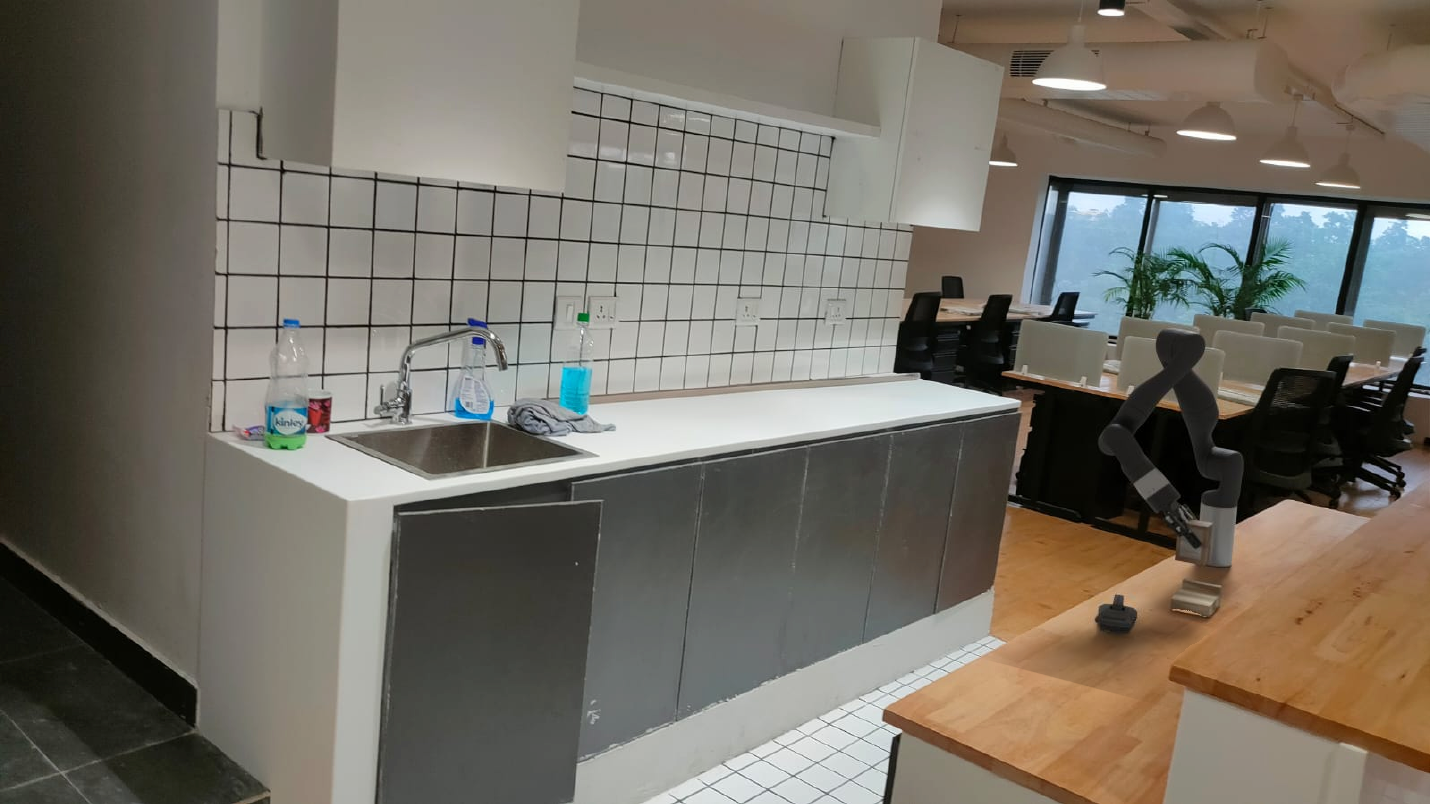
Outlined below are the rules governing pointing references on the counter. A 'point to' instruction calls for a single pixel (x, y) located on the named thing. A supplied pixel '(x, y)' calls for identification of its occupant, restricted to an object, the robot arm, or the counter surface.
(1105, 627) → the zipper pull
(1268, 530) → the counter surface
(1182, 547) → the frame
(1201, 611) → the ledge
